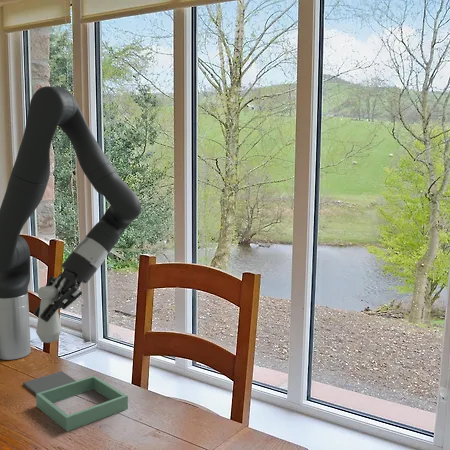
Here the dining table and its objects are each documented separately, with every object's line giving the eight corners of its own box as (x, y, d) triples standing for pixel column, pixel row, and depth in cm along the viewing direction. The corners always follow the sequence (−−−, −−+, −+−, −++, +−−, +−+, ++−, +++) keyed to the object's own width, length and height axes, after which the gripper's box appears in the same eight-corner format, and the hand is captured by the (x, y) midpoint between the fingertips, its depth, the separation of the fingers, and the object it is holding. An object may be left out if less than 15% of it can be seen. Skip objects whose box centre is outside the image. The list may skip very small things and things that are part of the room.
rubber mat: (23, 384, 134) (23, 382, 134) (61, 373, 141) (61, 371, 141) (41, 399, 127) (41, 396, 127) (80, 386, 134) (80, 383, 134)
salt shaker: (31, 341, 131) (28, 288, 129) (49, 333, 136) (47, 282, 134) (49, 345, 128) (47, 291, 126) (67, 338, 133) (65, 286, 131)
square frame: (36, 406, 123) (35, 393, 123) (94, 387, 133) (94, 375, 133) (67, 431, 113) (66, 417, 112) (128, 408, 123) (127, 395, 122)
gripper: (62, 246, 139) (16, 302, 133) (89, 255, 129) (41, 316, 122) (81, 263, 143) (38, 318, 137) (109, 274, 133) (64, 334, 127)
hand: (40, 317), depth 130 cm, fingers closed on salt shaker, 3 cm apart
